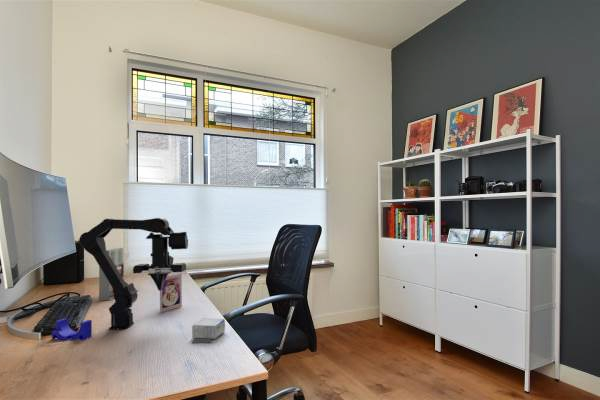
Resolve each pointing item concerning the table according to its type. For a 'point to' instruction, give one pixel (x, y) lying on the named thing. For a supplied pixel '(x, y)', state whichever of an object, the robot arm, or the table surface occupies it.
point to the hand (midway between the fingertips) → (160, 290)
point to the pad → (201, 340)
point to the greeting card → (171, 293)
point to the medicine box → (208, 328)
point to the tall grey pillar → (104, 284)
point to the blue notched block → (66, 332)
